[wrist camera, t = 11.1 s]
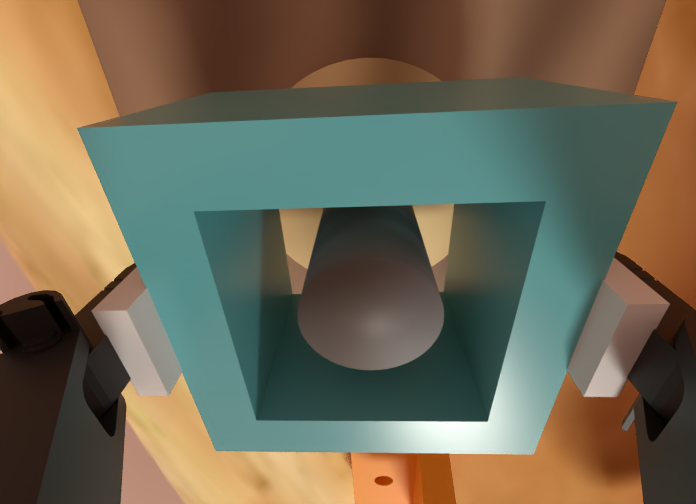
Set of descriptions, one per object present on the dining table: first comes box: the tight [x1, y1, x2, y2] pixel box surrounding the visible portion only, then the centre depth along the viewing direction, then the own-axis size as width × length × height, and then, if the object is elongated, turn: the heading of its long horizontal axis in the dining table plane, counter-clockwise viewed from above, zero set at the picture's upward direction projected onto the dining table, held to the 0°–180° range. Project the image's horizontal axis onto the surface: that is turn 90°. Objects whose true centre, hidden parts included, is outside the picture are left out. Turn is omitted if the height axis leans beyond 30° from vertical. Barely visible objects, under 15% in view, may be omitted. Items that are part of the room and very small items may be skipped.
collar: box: [77, 77, 677, 454], centre depth 11 cm, size 10×10×6 cm
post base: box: [78, 0, 666, 370], centre depth 13 cm, size 22×22×11 cm
